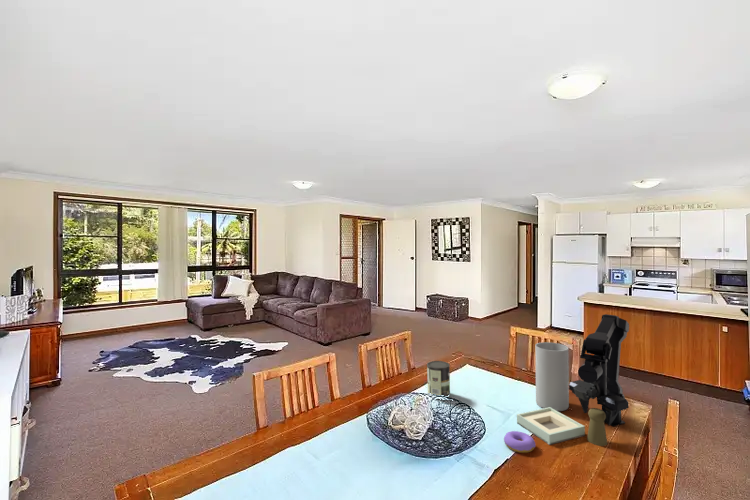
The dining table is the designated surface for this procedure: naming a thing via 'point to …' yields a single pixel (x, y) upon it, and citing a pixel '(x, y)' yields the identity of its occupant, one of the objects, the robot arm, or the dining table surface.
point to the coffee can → (438, 378)
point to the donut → (519, 442)
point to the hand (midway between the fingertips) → (597, 418)
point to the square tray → (550, 425)
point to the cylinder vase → (552, 376)
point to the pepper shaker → (597, 427)
